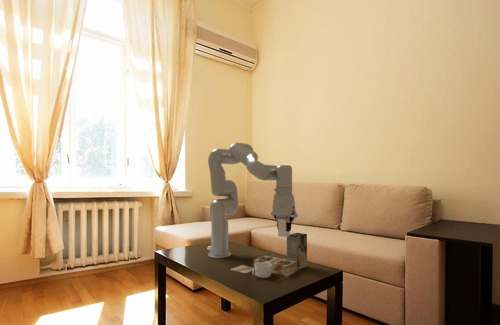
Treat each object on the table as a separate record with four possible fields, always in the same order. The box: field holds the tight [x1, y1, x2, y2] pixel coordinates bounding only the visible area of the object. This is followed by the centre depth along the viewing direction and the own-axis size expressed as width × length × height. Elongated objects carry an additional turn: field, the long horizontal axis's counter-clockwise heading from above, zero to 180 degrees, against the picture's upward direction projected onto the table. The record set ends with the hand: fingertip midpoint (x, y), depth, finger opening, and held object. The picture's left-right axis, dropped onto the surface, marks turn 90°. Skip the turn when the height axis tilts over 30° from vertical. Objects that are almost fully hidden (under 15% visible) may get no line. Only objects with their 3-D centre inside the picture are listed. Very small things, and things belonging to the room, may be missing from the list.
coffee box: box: [286, 232, 308, 271], centre depth 144 cm, size 9×6×16 cm
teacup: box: [251, 262, 273, 279], centre depth 128 cm, size 10×8×5 cm
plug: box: [277, 215, 291, 238], centre depth 136 cm, size 4×4×10 cm
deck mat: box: [230, 264, 255, 274], centre depth 138 cm, size 9×9×1 cm
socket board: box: [253, 254, 298, 278], centre depth 138 cm, size 18×10×5 cm, turn 54°
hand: (284, 230), depth 136 cm, fingers closed on plug, 4 cm apart
